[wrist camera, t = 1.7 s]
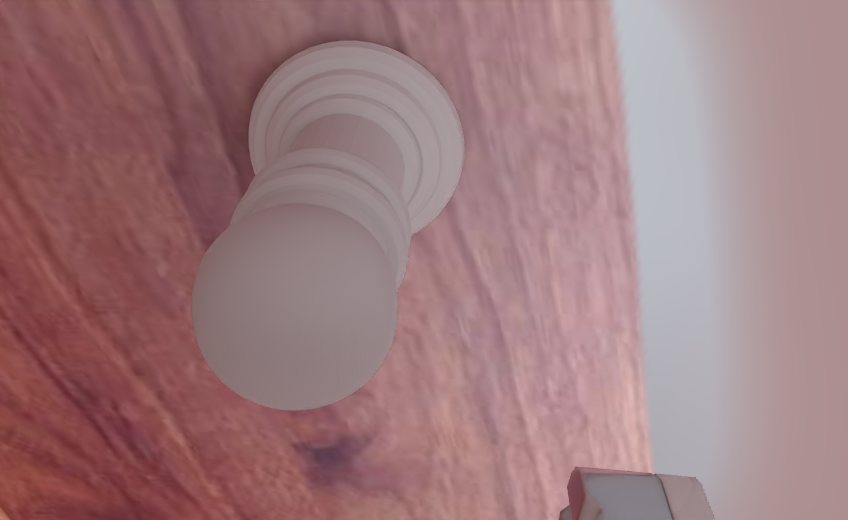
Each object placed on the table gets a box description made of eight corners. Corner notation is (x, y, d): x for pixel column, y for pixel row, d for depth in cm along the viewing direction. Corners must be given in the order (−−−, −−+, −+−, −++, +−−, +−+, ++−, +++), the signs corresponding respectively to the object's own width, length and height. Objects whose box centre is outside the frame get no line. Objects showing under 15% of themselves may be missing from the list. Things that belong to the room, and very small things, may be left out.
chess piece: (232, 44, 17) (30, 224, 9) (457, 25, 16) (449, 200, 8) (277, 239, 19) (152, 506, 12) (470, 228, 19) (473, 499, 11)
